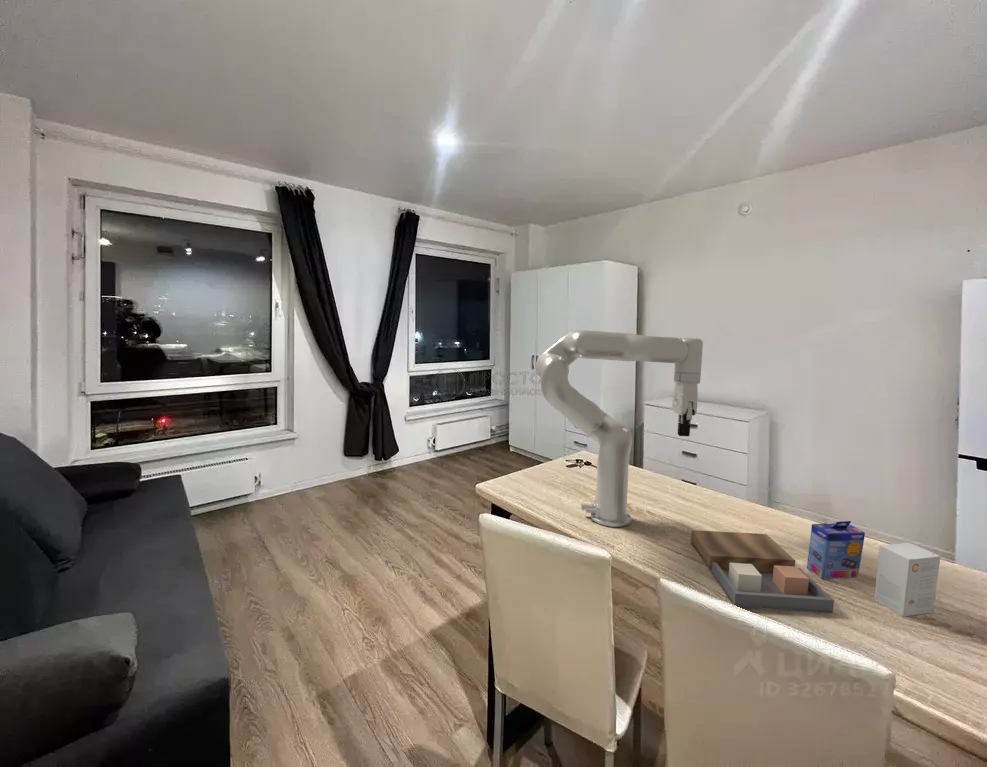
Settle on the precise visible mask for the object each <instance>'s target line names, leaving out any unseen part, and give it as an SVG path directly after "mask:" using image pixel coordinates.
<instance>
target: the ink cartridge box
mask: <svg viewBox="0 0 987 767" xmlns="http://www.w3.org/2000/svg"><path fill="white" fill-rule="evenodd" d="M851 523H852V521H851V520H846V521H843V520H841V521H840V520H839V521H836V522H834V523H827V522H825V523H812V524H811V531H810V537H809V547H808V555H807V561H806V562H807V564H806V569H808V571H810V572H812V573H813V574H814V575H815V576H816V577H818V578H819V579H820V578H821V579H820V580H822V579H823V580H824V579H825V580H849V579H850V578H857V579H859V574H860V567H861V561H862V555H863V548H864V542H865V536H866V535H865V534H866V532H864V531H862V530H861V529H859V528H857V527H856V526H854V525H852V524H851ZM823 580H822V581H823ZM850 580H851V579H850Z"/></svg>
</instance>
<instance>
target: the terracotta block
mask: <svg viewBox="0 0 987 767" xmlns="http://www.w3.org/2000/svg"><path fill="white" fill-rule="evenodd" d="M797 567H798V566H795V567H793V566H777V565H774V569H773V580H772V581H773V582H774V583H775V584H776V586H777V587H778V588H779V589H780V590H781V591H782V592H783V593H784V594H798V595H807V594H808V584H809V578H808V577H807V576H808V575H807V574H806V573H805V572H804V571H803V572H804V573H805V574H806V575H807V576H806V575H805V574H804V573H803V572H801V571H800V570H799V569H798V568H797Z"/></svg>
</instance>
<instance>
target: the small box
mask: <svg viewBox="0 0 987 767" xmlns="http://www.w3.org/2000/svg"><path fill="white" fill-rule="evenodd" d="M878 551H879V552H878V562H877V568H876V570H877V571H876V580H875V590H874V595H873V596H874V597H873V599H874V601H875V600H877V601H878V603H879V602H880V603H879V604H881V603H882V604H883V606H884V605H885V606H884V607H886V606H887V607H886V608H888V609H889V608H890V609H889V610H891V611H893V612H894V611H895V612H894V613H896V614H898V615H899V616H901V617H903V618H904V617H910V616H916V615H924V614H931V613H934V608H935V602H936V600H935V599H936V592H937V586H938V585H937V584H938V578H939V570H940V561H941V556H940V555H939V554H937V553H934V552H932V551H931V550H928V549H926V548H923V547H920V546H919V545H916V544H914V543H911V542H901V543H894V544H893V543H892V544H883V545H879V550H878ZM877 601H876V602H877ZM882 604H881V605H882Z"/></svg>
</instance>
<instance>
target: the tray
mask: <svg viewBox="0 0 987 767" xmlns="http://www.w3.org/2000/svg"><path fill="white" fill-rule="evenodd" d="M796 567H797V568H798V569H799V570H800V571H801V572H803V573H804V574H805V575H806V576H807V577H808V578H809V584H808V594H807V595H798V594H784V593H783V592H782V591H781V590H780V589H779V588H778V587H777V586H776V584H775V583H774V582H773V581H772V580H773V573H763V572H759V573H760V574H761V575H762V580H761V591H760V592H753V591H739V590H737V589H736V588H735V586H734V585H733V584H732V582H731V581H730V580H729V578H728V577H729V570H722V569H721V568H720V566H719V565H718V564H717V563H715V562H712V569H710V570H709V572H710V574H711V575H712V577H713V578H714V580H715V581H716V582H717V584H718V585H719V587H720V588H721V589H722V591H723V592H724V593H725V595H726V597H727V598H728V600H730V603H731V604H732V605H733V604H734V605H736V606H739V608H748V609H749V608H751V609H763V610H764V609H766V610H779V611H793V612H794V611H795V612H796V611H798V612H809V613H823V614H833V613H834V606H835V599H834V598H833V597H831V596H830V595H829V594H828V593H827V592H826V591H825V590H824V589H823V588H822V587H821V586H819V585H818V584H817V583H816V581H814V580H813V579H812V578H811V577H810V576H809V575H807V573H805V572H804V571H803V570H802V569H801V567H798V566H796ZM734 605H733V606H734Z"/></svg>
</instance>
